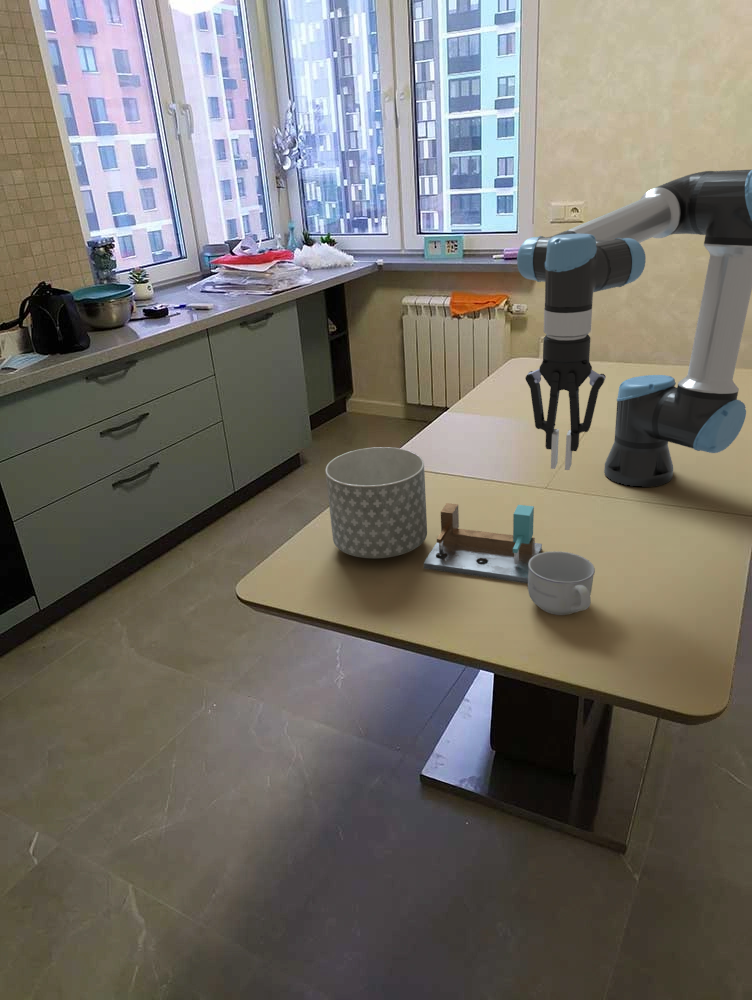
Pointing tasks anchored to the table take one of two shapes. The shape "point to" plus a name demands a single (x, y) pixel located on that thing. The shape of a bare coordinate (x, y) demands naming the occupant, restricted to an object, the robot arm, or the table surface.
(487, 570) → the gauge board
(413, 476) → the planter
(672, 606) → the table surface
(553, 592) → the teacup
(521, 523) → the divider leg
